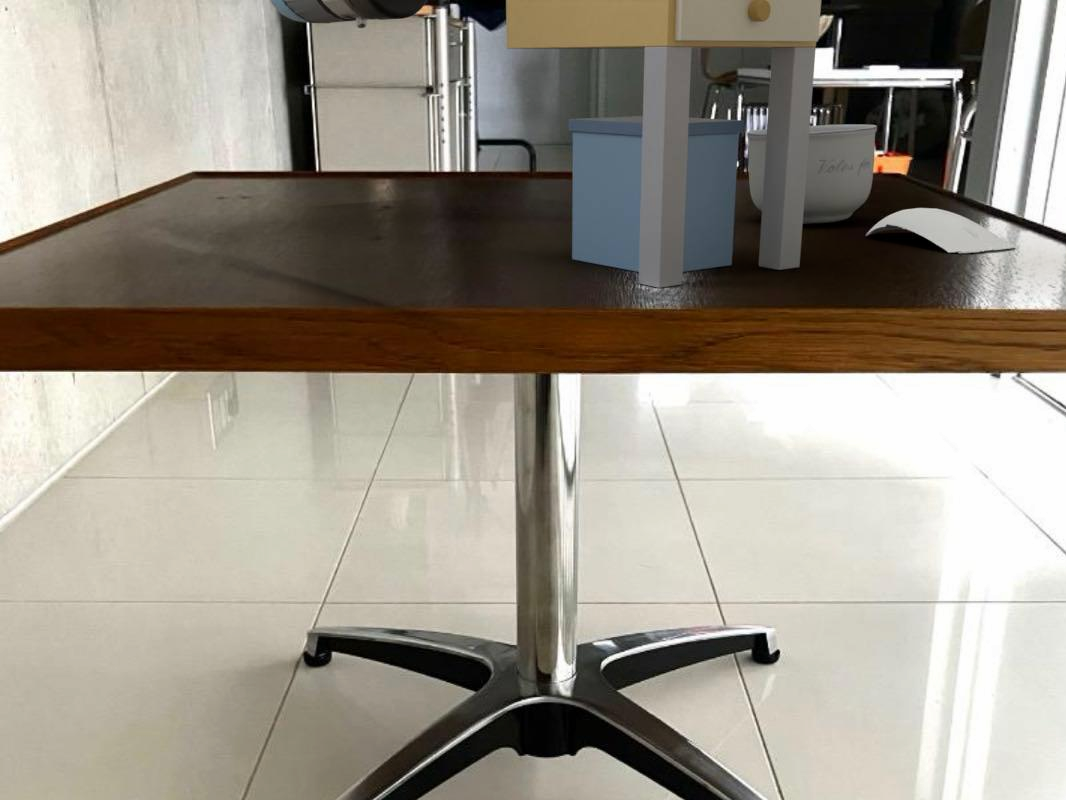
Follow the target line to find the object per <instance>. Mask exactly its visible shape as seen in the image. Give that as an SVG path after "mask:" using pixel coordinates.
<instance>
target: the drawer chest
mask: <svg viewBox="0 0 1066 800" xmlns="http://www.w3.org/2000/svg"><path fill="white" fill-rule="evenodd" d="M821 8H822V0H505V17H506V19H505V21H506V23H505V24H506V27H505V28H506V49H507V50H509V49H511V50H513V49H514V50H515V49H517V50H518V49H519V50H520V49H521V50H523V49H524V50H526V49H527V50H529V49H530V50H532V49H533V50H534V49H535V50H538V49H540V50H544V49H545V50H549V49H550V50H552V49H553V50H555V49H556V50H559V49H560V50H563V49H564V50H566V49H567V50H585V49H586V50H605V49H606V50H611V49H612V50H644V56H643V57H644V60H643V61H644V62H643V92H642V93H643V96H642V99H643V101H642V116H643V131H642V169H641V208H640V246H639V272H638V284H639V285H643V286H647V287H648V286H649V287H654V288H658V289H661V288H669V287H674V286H675V287H676V286H681V285H683V279H684V278H683V277H684V275H683V274H684V272H683V253H684V227H685V201H686V176H687V150H688V125H689V118H690V97H691V95H690V94H691V74H692V73H691V72H692V71H691V70H692V49H746V48H747V49H753V48H754V49H756V48H757V49H758V48H771V57H770V72H769V74H770V75H769V90H768V104H767V105H768V106H767V121H766V129H767V137H766V153H765V169H764V185H763V202H762V211H761V218H760V219H761V221H760V234H759V251H758V252H759V254H758V267H759V268H765V269H770V270H776V271H783V270H790V269H796V268H800V265H801V264H800V263H801V252H802V250H801V249H802V240H803V239H802V238H803V237H802V236H803V225H804V224H803V212H804V198H805V184H806V171H807V157H808V144H809V130H810V126H811V117H812V101H813V91H814V90H813V88H814V75H815V62H816V61H815V60H816V47H817V43H818V42H819V37H820V22H821V21H820V20H821V10H822V9H821Z"/></svg>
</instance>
